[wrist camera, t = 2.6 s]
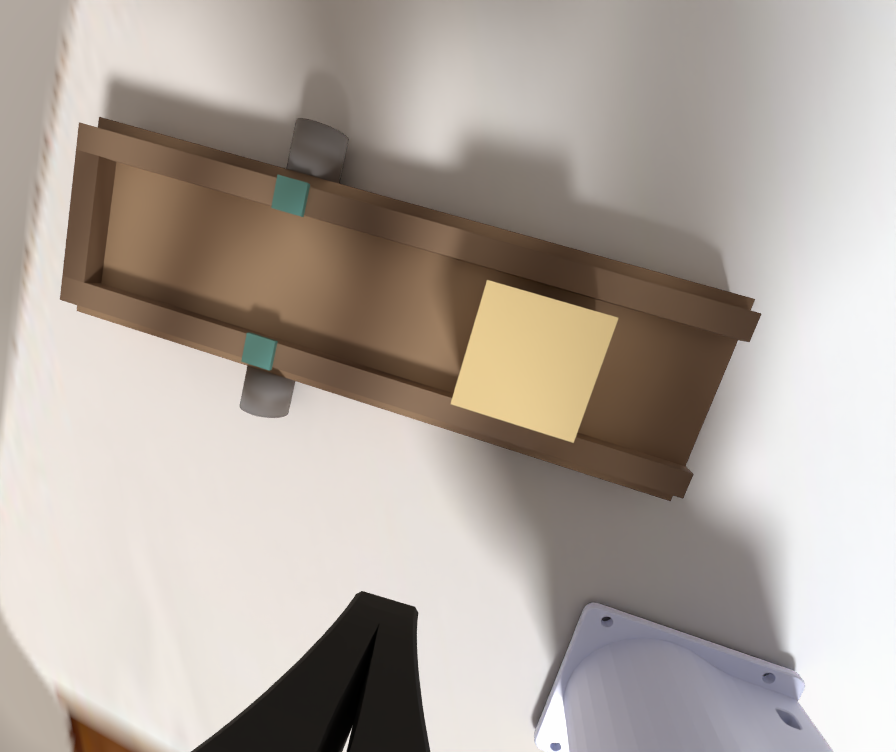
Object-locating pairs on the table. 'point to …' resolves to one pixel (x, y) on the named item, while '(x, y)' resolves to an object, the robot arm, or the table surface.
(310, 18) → the table surface
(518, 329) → the block
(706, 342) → the balance beam
